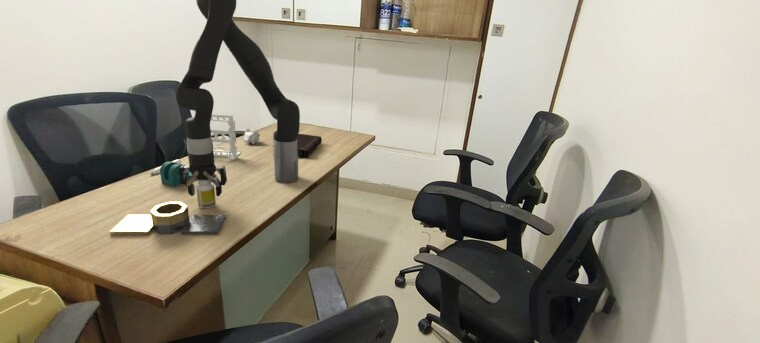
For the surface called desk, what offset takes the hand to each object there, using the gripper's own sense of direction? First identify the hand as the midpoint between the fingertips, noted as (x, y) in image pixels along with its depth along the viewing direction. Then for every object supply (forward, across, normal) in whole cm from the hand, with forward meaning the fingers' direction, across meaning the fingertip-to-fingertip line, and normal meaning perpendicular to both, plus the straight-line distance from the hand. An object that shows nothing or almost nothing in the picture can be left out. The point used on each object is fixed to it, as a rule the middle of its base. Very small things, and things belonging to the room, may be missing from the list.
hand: (205, 195), depth 121 cm
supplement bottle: (+4, 0, 0) cm, 4 cm away
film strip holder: (+4, +8, -50) cm, 51 cm away
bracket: (+4, +14, -24) cm, 28 cm away
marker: (+4, +26, -32) cm, 41 cm away
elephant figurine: (+4, -1, -71) cm, 71 cm away
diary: (+4, -26, -64) cm, 69 cm away
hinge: (+4, +6, +14) cm, 16 cm away
